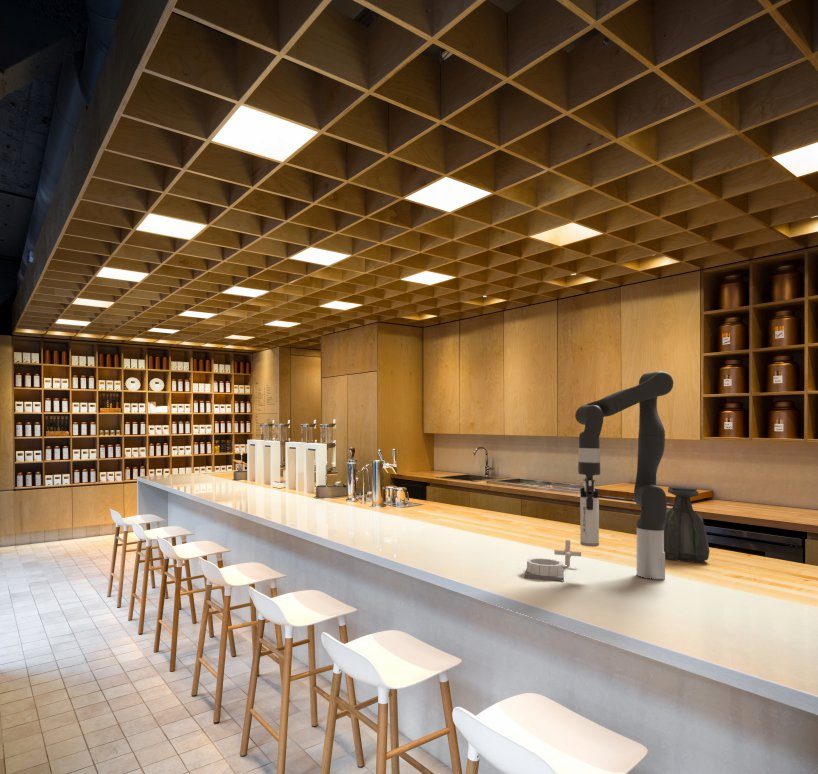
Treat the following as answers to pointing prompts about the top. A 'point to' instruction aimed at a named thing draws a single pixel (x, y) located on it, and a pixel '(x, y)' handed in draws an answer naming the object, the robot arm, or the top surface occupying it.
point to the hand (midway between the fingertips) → (589, 508)
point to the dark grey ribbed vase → (684, 529)
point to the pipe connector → (567, 552)
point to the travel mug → (589, 520)
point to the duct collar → (544, 569)
